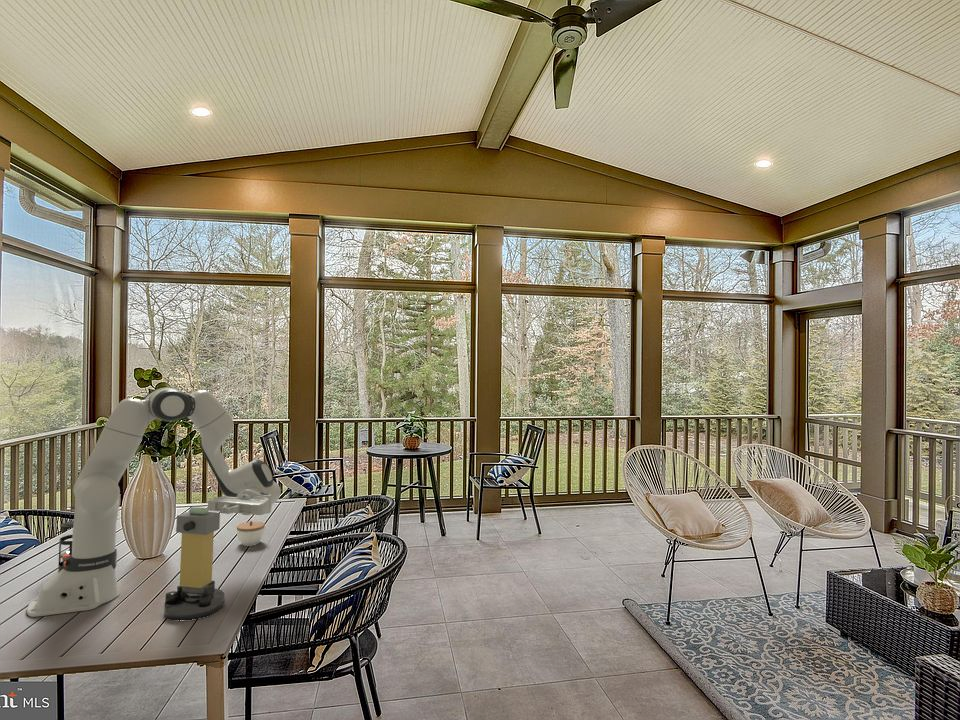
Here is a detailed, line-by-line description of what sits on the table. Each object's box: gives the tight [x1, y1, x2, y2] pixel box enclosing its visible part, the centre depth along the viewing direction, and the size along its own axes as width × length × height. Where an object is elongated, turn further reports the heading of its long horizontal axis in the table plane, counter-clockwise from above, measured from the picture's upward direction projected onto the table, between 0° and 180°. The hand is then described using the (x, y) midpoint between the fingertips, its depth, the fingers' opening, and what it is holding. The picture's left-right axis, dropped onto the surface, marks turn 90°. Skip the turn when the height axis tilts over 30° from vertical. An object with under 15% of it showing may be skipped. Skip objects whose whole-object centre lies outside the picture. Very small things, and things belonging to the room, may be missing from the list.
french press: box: [57, 505, 75, 573], centre depth 186 cm, size 12×9×23 cm
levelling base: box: [163, 580, 225, 622], centre depth 159 cm, size 16×16×7 cm
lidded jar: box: [236, 520, 266, 547], centre depth 218 cm, size 11×11×9 cm
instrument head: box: [175, 506, 221, 595], centre depth 159 cm, size 8×10×26 cm
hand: (224, 511), depth 172 cm, fingers closed
